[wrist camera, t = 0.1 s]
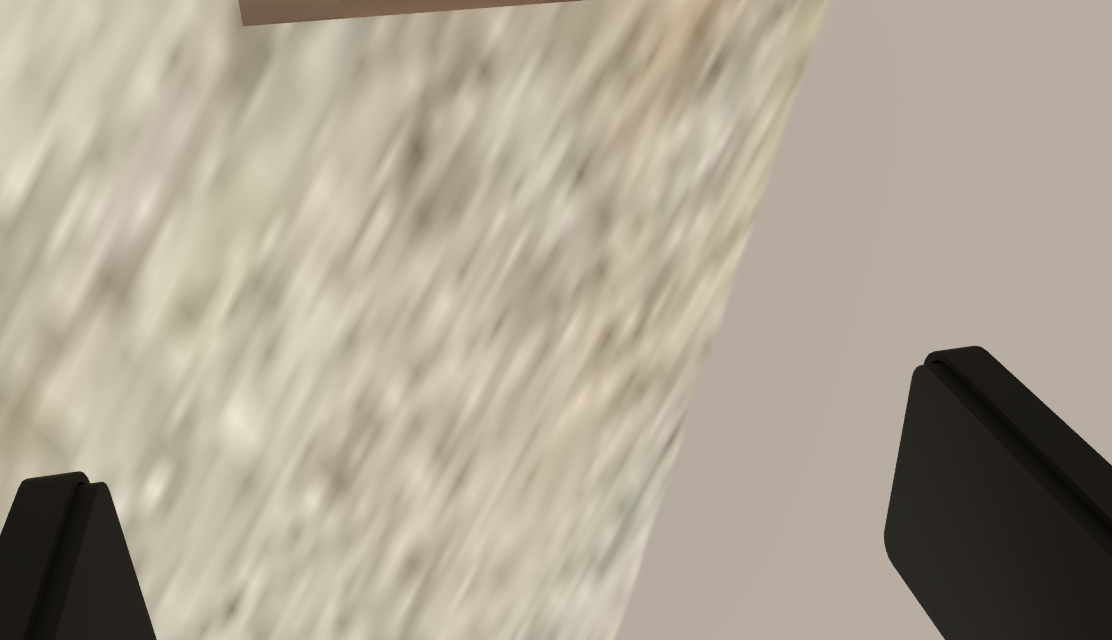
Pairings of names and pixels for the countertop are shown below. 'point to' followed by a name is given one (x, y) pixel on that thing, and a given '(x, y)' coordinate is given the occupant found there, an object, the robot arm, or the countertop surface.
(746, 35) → the countertop surface
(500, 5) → the socket block
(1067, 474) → the robot arm
